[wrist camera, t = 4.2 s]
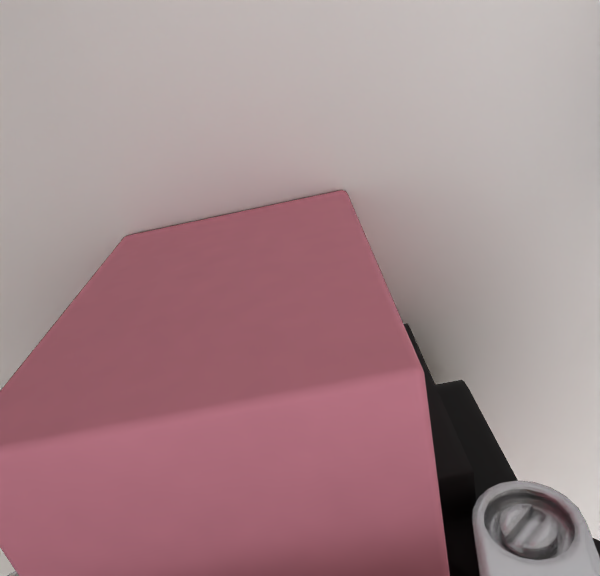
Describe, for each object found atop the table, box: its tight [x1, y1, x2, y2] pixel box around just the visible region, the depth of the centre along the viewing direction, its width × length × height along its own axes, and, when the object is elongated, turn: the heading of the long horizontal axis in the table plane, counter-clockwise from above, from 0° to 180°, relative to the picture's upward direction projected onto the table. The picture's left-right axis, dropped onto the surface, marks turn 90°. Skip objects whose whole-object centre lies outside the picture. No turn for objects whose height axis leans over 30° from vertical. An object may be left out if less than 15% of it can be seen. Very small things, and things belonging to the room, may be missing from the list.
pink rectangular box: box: [0, 190, 450, 576], centre depth 8 cm, size 4×8×6 cm, turn 12°
